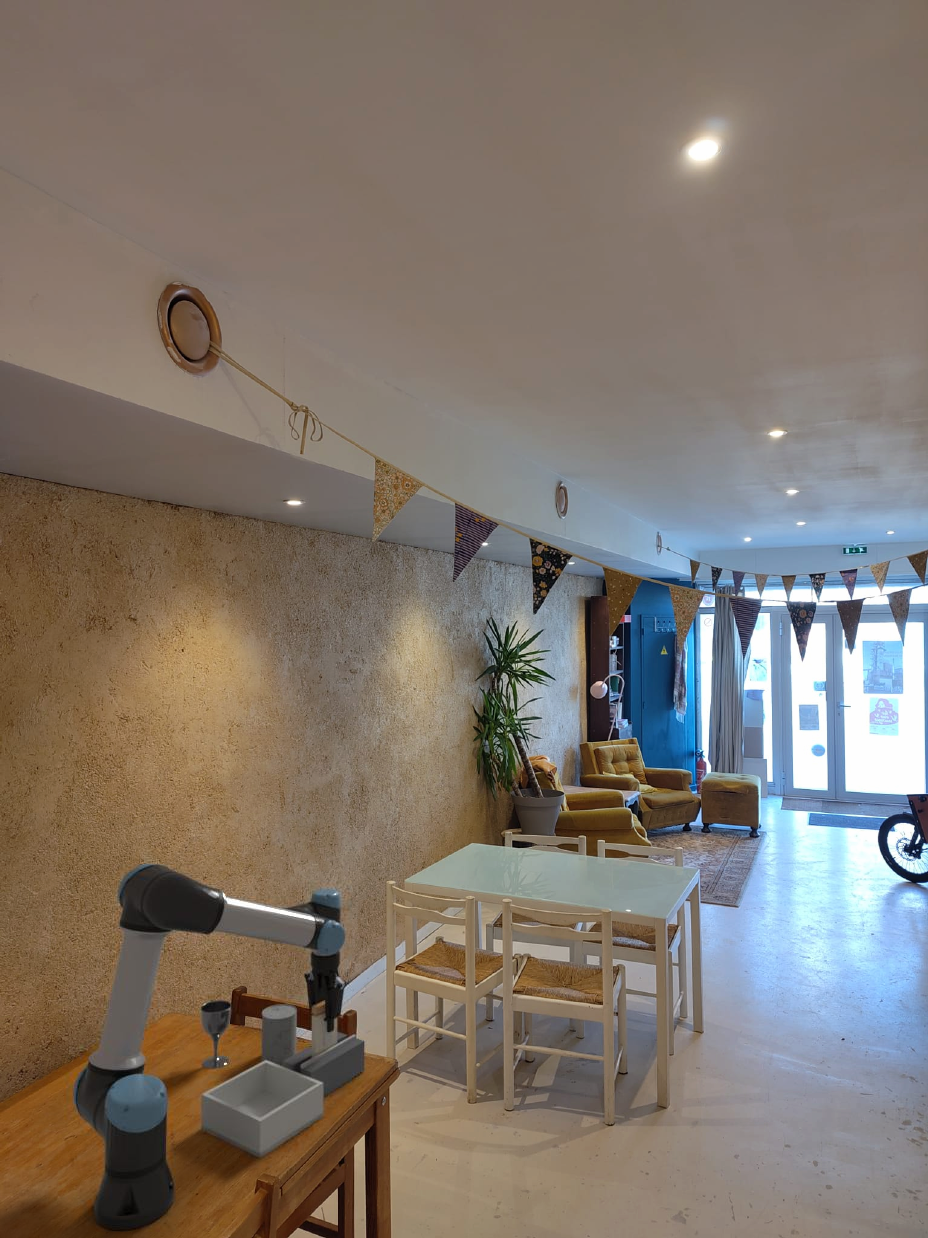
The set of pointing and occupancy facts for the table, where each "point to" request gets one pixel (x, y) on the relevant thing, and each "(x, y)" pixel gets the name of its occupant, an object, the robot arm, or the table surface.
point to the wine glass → (215, 1028)
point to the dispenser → (331, 1063)
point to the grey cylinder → (278, 1033)
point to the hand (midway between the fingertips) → (324, 1042)
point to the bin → (262, 1107)
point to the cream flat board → (320, 1030)
